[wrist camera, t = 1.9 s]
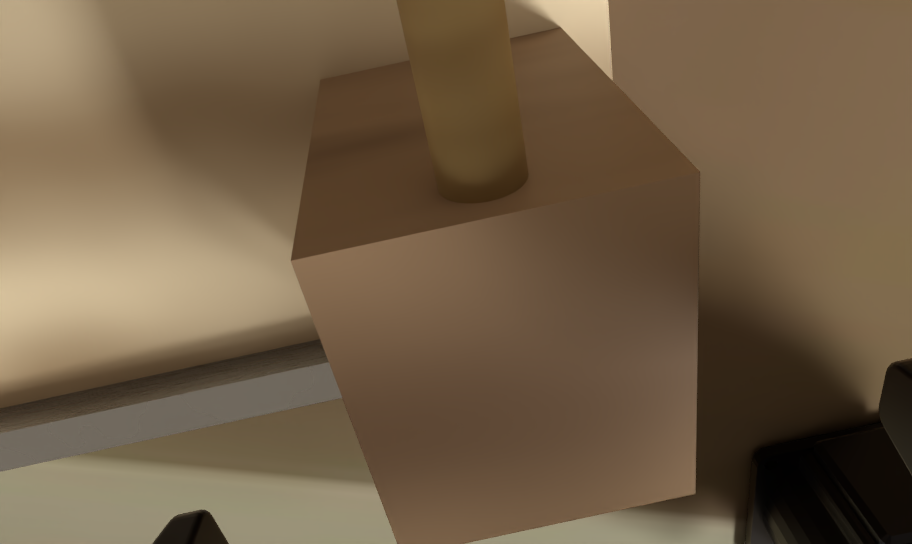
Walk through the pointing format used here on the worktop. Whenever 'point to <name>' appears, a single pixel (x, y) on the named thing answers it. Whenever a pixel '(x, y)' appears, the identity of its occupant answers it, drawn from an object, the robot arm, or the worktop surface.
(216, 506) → the worktop surface
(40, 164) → the maple board
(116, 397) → the guide rail
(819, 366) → the worktop surface
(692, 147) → the worktop surface
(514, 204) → the marking gauge
